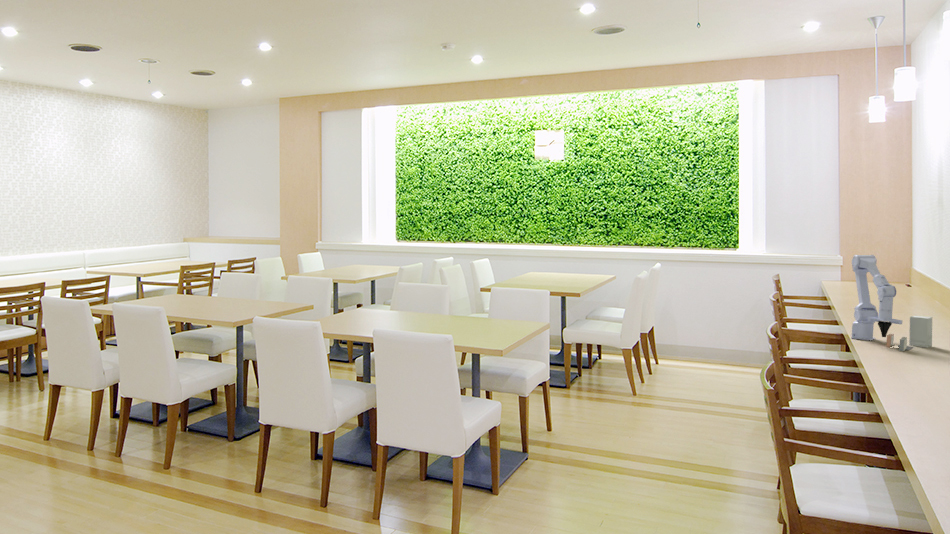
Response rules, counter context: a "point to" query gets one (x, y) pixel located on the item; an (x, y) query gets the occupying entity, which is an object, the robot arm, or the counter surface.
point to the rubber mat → (906, 347)
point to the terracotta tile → (890, 340)
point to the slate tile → (903, 344)
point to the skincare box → (920, 331)
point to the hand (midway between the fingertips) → (883, 336)
